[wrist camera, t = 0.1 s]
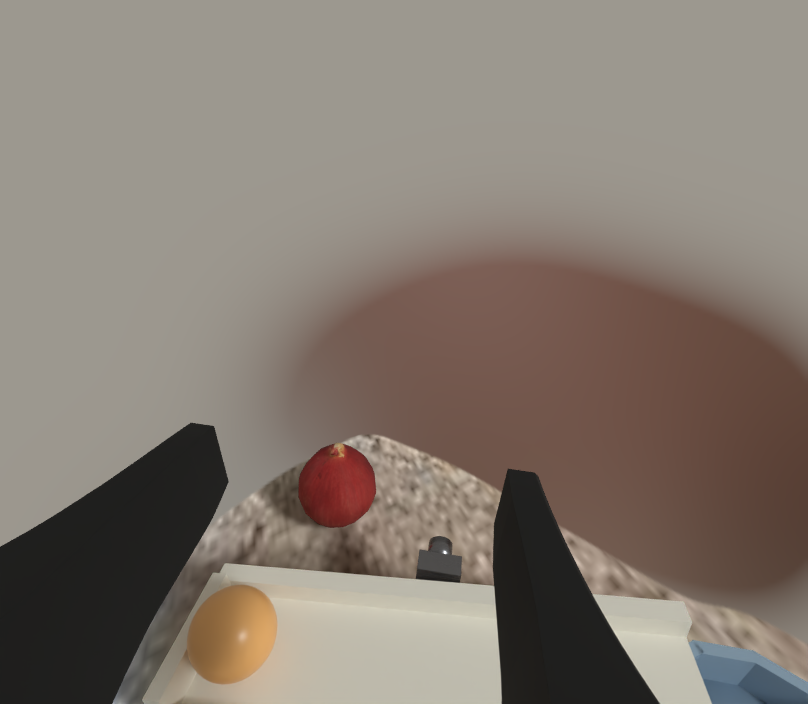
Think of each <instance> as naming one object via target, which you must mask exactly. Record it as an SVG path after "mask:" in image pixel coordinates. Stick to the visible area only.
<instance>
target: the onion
mask: <svg viewBox="0 0 808 704" xmlns="http://www.w3.org/2000/svg"><path fill="white" fill-rule="evenodd" d="M375 494H376V484H375V474H374V471H373V468H372V466H371V465H370V463H369V462H368V460H367V458H366V457H365V456H364V455H363V454H362V453H360V452H359V451H357V450H356V449H354V448H352V447H351V446H348V445H345V444H341V443H335V444H332V445H329V446H326V447H324V448H321V449H320V450H319V451H318V452H317V453H316V454H315V455H314V456H313V457H312V458H311V459H310V460H309V461H308V462H307V463H306V465H305V467H304V468H303V470H302V472H301V474H300V477H299V499H300V502H301V504H302V506H303V508H304V511H305V513H306V514H307V515H308V516H309V517H310V518H312V519H313V520H314V521H315V522H317V523H318V524H319V525H323V526H326V527H330V528H334V527H344V526H347V525H349V524H352V523H354V522H356V521H357V520H358V519H359V518H360V517H362V516H363V515H364V514H365V513H366V512H367V511H368V510H369V508H370V506H371V504H372V502H373V500H374V497H375Z"/></svg>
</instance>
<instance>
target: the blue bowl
mask: <svg viewBox="0 0 808 704" xmlns="http://www.w3.org/2000/svg"><path fill="white" fill-rule="evenodd" d="M689 646H690V648H691V651H692V653H693V656H694V658H695V661H696V664H697V666H698V669H699V671H700V674H701V677H702V679H703V682H704V684H705V687H706V690H707V692H708V695H709V697H710V700H711V702H712V704H808V682H806V681H804V680H803V679H801V678H799V677H797V676H796V675H794V674H792V673H791V672H789V671H787V670H785V669H784V668H782V667H780V666H779V665H777V664H775V663H773V662H772V661H770V660H768V659H767V658H765V657H763V656H761V655H760V654H758V653H756V652H755V651H753V650H746V649H741V648H735V647H729V646H723V645H718V644H712V643H706V642H701V641H695V640H692V641H691V642H689Z"/></svg>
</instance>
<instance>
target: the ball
mask: <svg viewBox="0 0 808 704" xmlns="http://www.w3.org/2000/svg"><path fill="white" fill-rule="evenodd" d="M277 626H278V625H277V615H276V611H275V608H274V606H273V604H272V602H271V600H270V599H269V598H268V597H267V595H266V594H265V593H263V592H262V591H261V590H259V589H257V588H255V587H253V586H249V585H232V586H228V587H225V588H223V589H221V590H219V591H217V592H215V593H214V594H212V595H211V596H210V597H209V598H208V599H206V600H205V601H204V602H203V604H202V605H201V606H200V607H199V609H198V610H197V612H196V613H195V615H194V617H193V619H192V621H191V624H190V627H189V630H188V636H187V652H188V657H189V660H190V662H191V665H192V666H193V668H194V670H195V671H196V672H197V673H198V674H199V675H200V676H201V677H202V678H204V679H205V680H207V681H209V682H212V683H215V684H222V685H223V684H233V683H236V682H239V681H242V680H244V679H246V678H248V677H249V676H251V675H252V674H253V673H255V672H256V671H257V670H258V669H259V668H260V667H261V666H262V665H263V663H264V662H265V661H266V659H267V658H268V656H269V655H270V653H271V651H272V649H273V646H274V643H275V640H276V635H277Z"/></svg>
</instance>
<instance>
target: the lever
mask: <svg viewBox="0 0 808 704" xmlns="http://www.w3.org/2000/svg"><path fill="white" fill-rule="evenodd" d="M232 585H249V586H253V587H255V588H257V589H259V590H261V591H262V592H263V593H265V594H266V595H267V597H268V598H269V599H270V600H271V602H272V604H273V606H274V608H275V611H276V615H277V625H278V626H277V635H276V640H275V643H274V646H273V649H272V651H271V653H270V655H269V656H268V658H267V659H266V661H265V662H264V663H263V665H262V666H261V667H260V668H259V669H258V670H257V671H256V672H255V673H253V674H252V675H251V676H249V677H248V678H246V679H244V680H242V681H239V682H236V683H233V684H223V685H222V684H215V683H212V682H209V681H207V680H205V679H204V678H202V677H201V676H200V675H199V674H198V673H197V672H196V671H195V670H194V668H193V666H192V665H191V662H190V660H189V657H188V652H187V636H188V630H189V627H190V624H191V621H192V619H193V617H194V615H195V613H196V612H197V610H198V609H199V607H200V606H201V605H202V604H203V602H204V601H205V600H206V599H208V598H209V597H210V596H211V595H212V594H214V593H215V592H217V591H219V590H221V589H223V588H225V587H228V586H232ZM592 595H593V596H594V598H595V600H596V602H597V604H598V605H599V607H600V609H601V611H602V613H603V614H604V616H605V618H606V619H607V621H608V623H609V625H610V626H611V628H612V630H613V631H614V633H615V635H616V636H617V638H618V640H619V641H620V643H621V645H622V646H623V648H624V649H625V651H626V652H627V654H628V656H629V657H630V659H631V660H632V662H633V664H634V665H635V667H636V668H637V670H638V671H639V673H640V674H641V676H642V677H643V679H644V680H645V682H646V683H647V685H648V686H649V688H650V689H651V691H652V692H653V694H654V695H655V697H656V698H657V700H658V701H659V703H660V704H712V702H711V700H710V697H709V695H708V692H707V690H706V687H705V684H704V682H703V679H702V677H701V674H700V671H699V669H698V666H697V664H696V661H695V658H694V656H693V653H692V651H691V648H690V646H689V643H688V640H687V638H686V637H687V635H688V632H689V629H690V627H691V624H692V621H691V619H690V616H689V614H688V611H687V609H686V606H685V604H684V602H680V601H668V600H656V599H644V598H632V597H621V596H609V595H597V594H592ZM142 701H143V702H144V704H502V694H501V670H500V657H499V644H498V630H497V617H496V604H495V590H494V586H490V585H478V584H466V583H454V582H442V581H430V580H419V579H407V578H395V577H383V576H371V575H359V574H347V573H335V572H323V571H312V570H300V569H288V568H276V567H264V566H252V565H240V564H228V563H225V564H224V566H223V568H222V569H221V571H220V573H214V572H213V573H212V575H211V577H210V579H209V580H208V582H207V584H206V586H205V588H204V589H203V591H202V593H201V595H200V597H199V598H198V600H197V602H196V604H195V605H194V607H193V609H192V611H191V613H190V614H189V616H188V618H187V620H186V622H185V623H184V625H183V627H182V629H181V630H180V632H179V634H178V636H177V638H176V639H175V641H174V643H173V645H172V647H171V648H170V650H169V652H168V654H167V656H166V657H165V659H164V661H163V663H162V664H161V666H160V668H159V670H158V672H157V673H156V675H155V677H154V679H153V681H152V682H151V684H150V686H149V688H148V689H147V691H146V693H145V695H144V697H143V698H142Z"/></svg>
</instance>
